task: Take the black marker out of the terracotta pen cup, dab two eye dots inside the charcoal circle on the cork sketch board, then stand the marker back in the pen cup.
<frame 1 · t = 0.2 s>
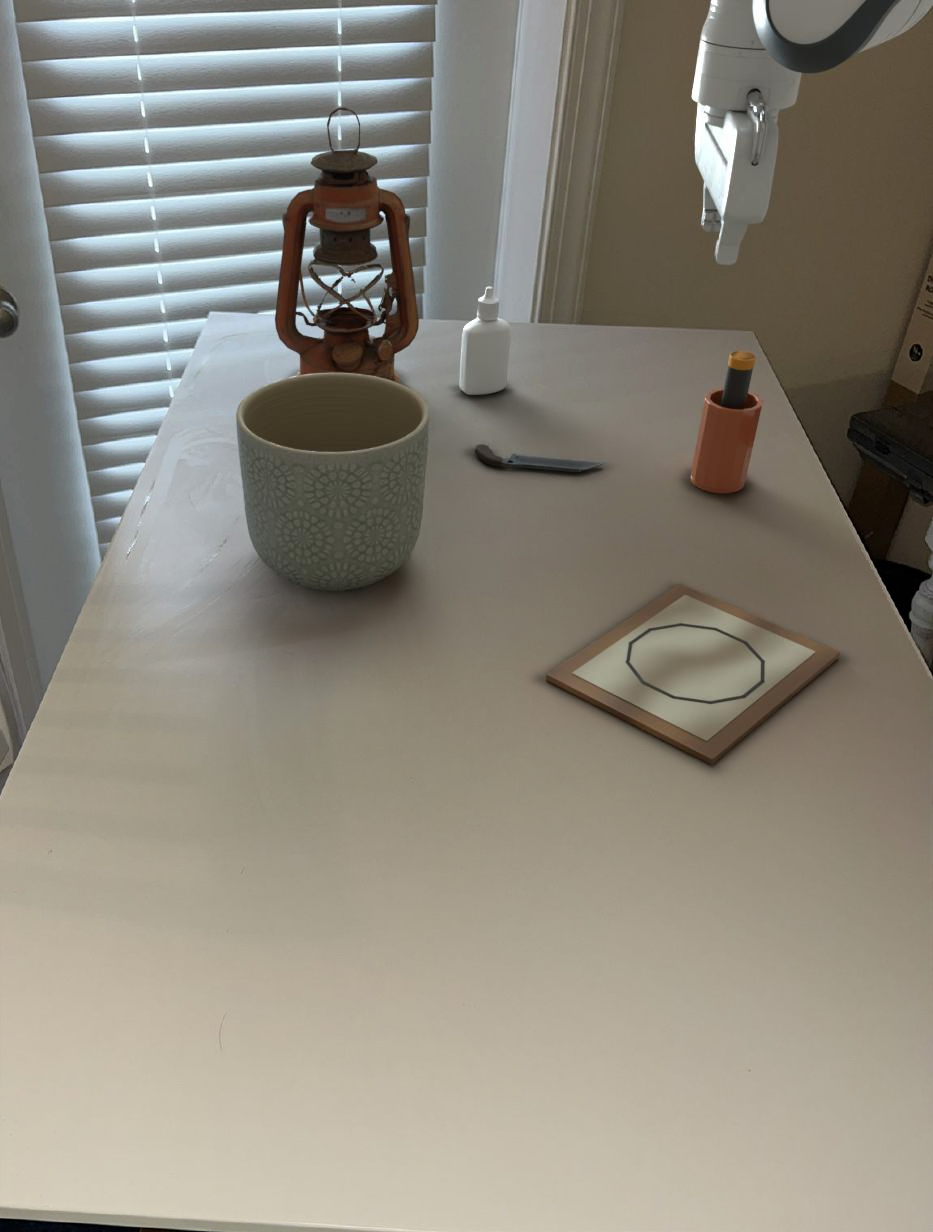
hand: (717, 245, 116), 24 cm above the table, tool pointing down, fingers open, 8 cm apart
marker: (730, 418, 127), in the pen cup
lantern: (347, 384, 151), on the table
knife: (538, 464, 134), on the table
planter: (334, 565, 119), on the table
eye dropper bottle: (482, 390, 149), on the table
pen cup: (717, 481, 131), on the table
sketch board: (693, 668, 105), on the table
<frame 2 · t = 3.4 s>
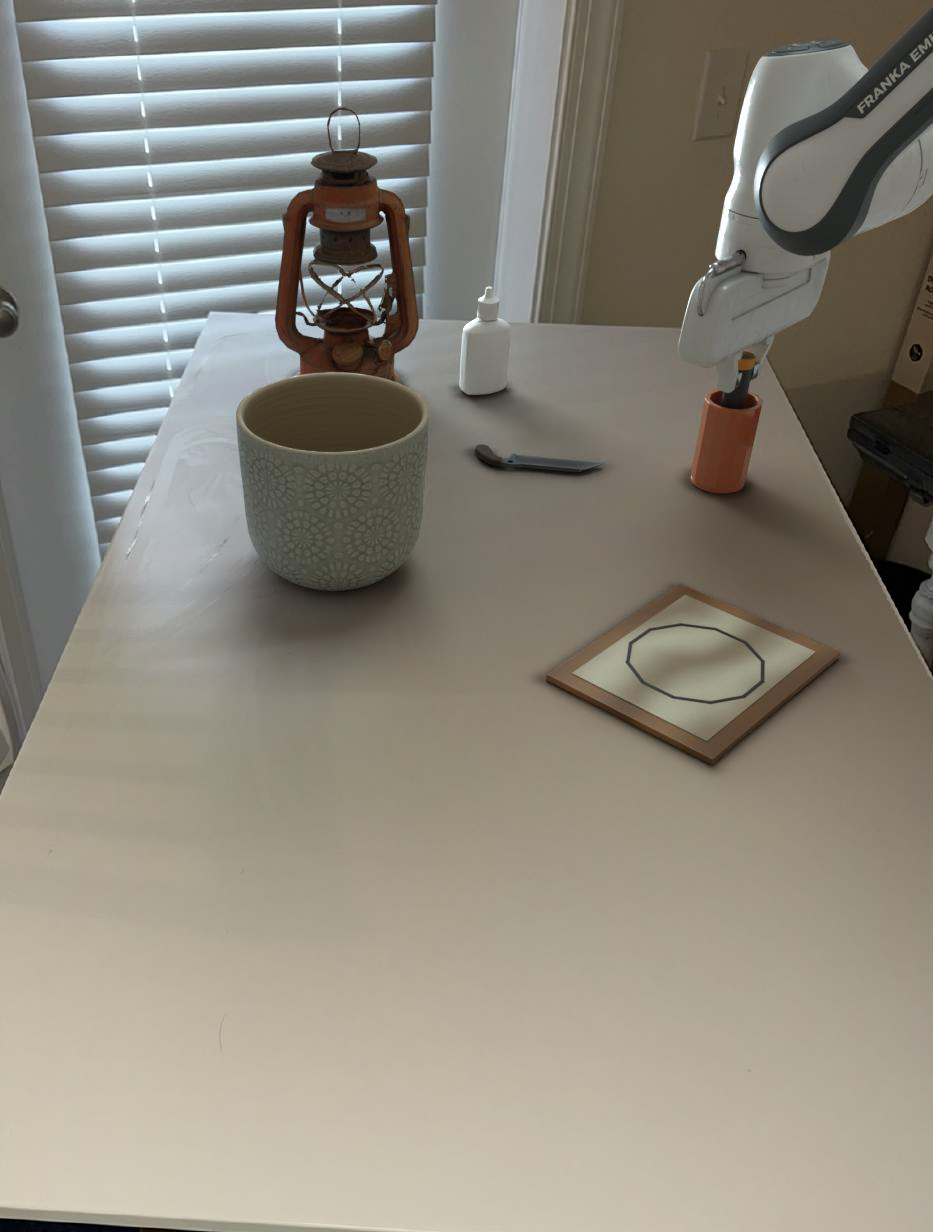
hand: (737, 384, 124), 11 cm above the table, tool pointing down, fingers closed on marker, 2 cm apart
marker: (730, 418, 127), in the pen cup, touching gripper
everything else where it was.
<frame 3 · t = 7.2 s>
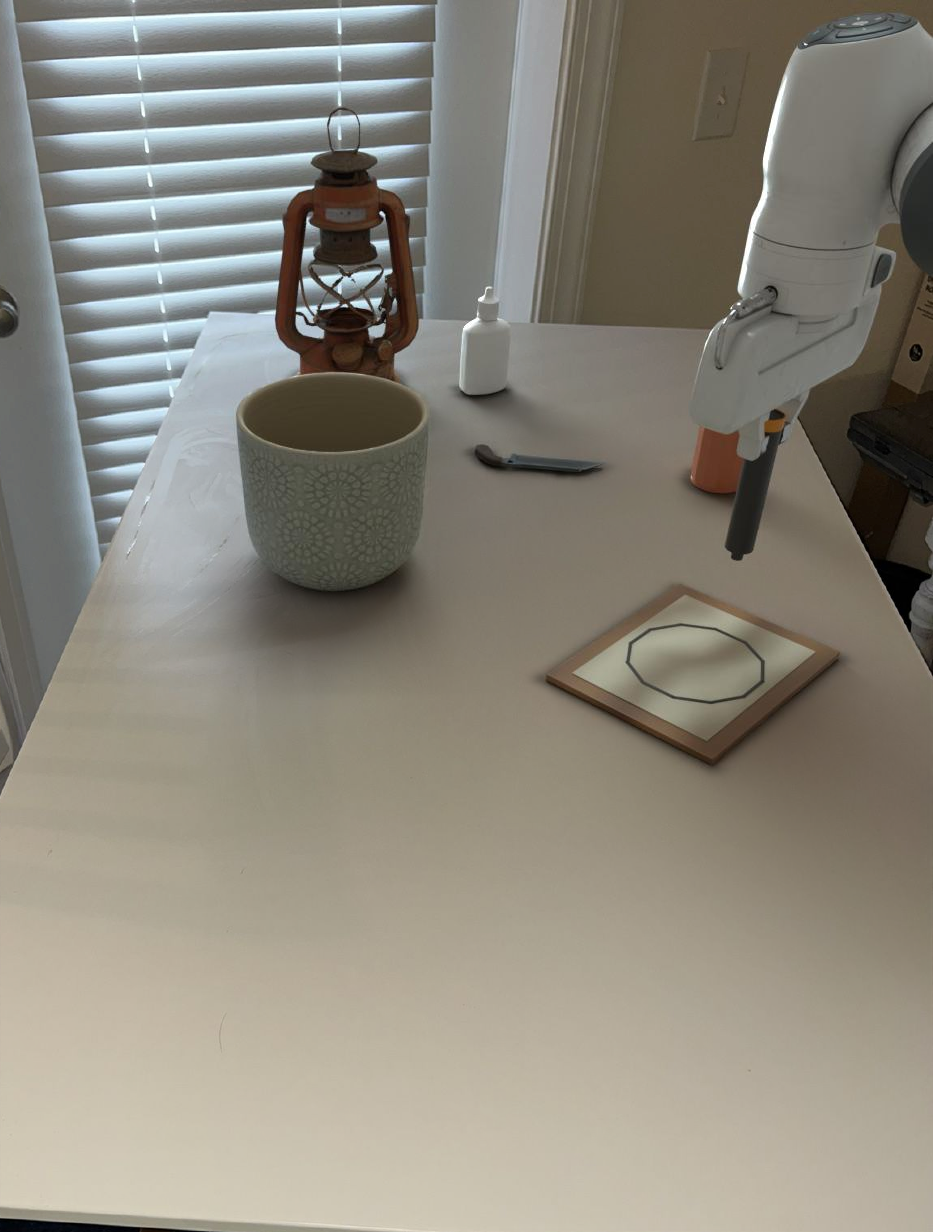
hand: (762, 448, 100), 17 cm above the table, tool pointing down, fingers closed on marker, 2 cm apart
marker: (752, 489, 102), point 13 cm above the table, touching gripper
everything else where it was.
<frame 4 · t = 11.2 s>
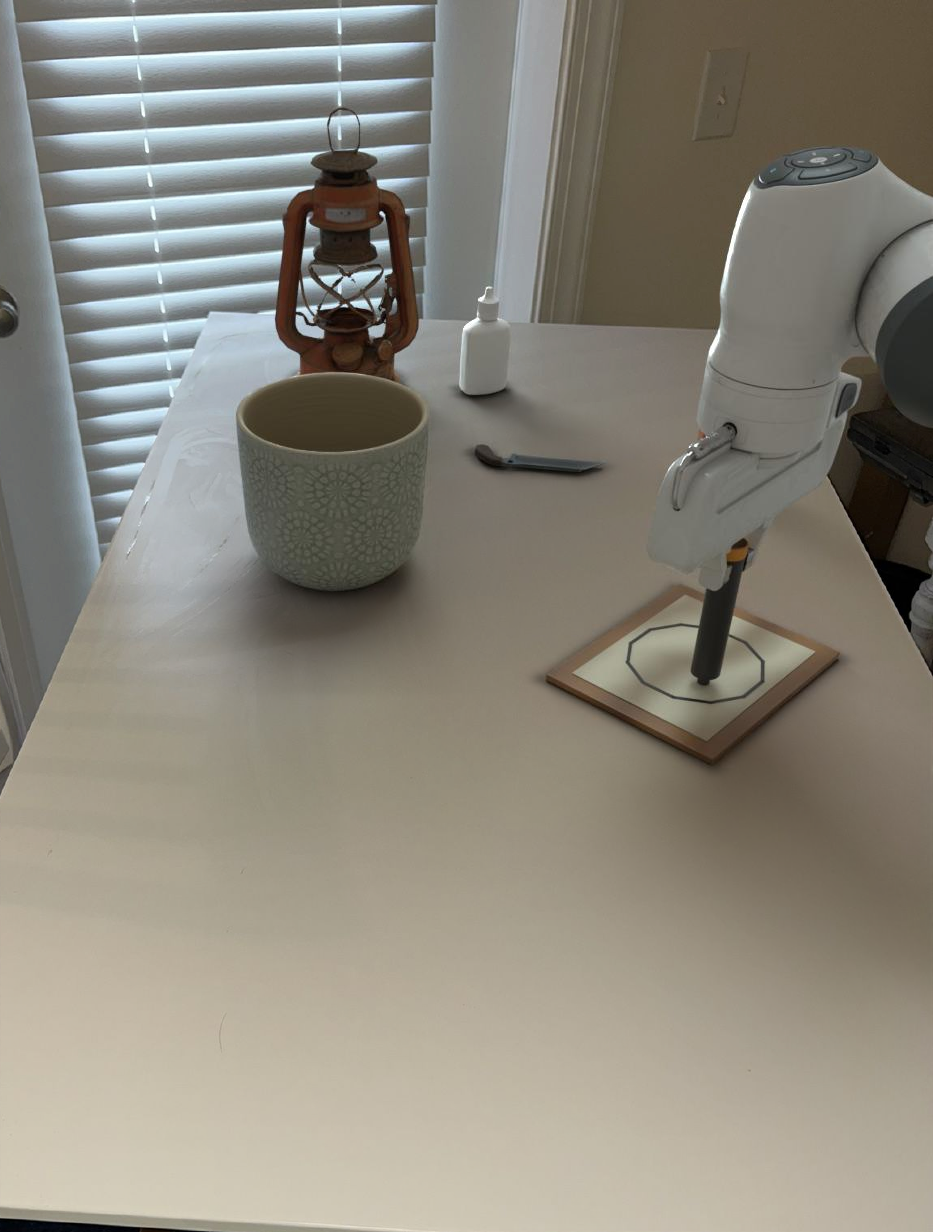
hand: (726, 575, 96), 11 cm above the table, tool pointing down, fingers closed on marker, 2 cm apart
marker: (716, 615, 98), point 7 cm above the table, touching gripper
everything else where it was.
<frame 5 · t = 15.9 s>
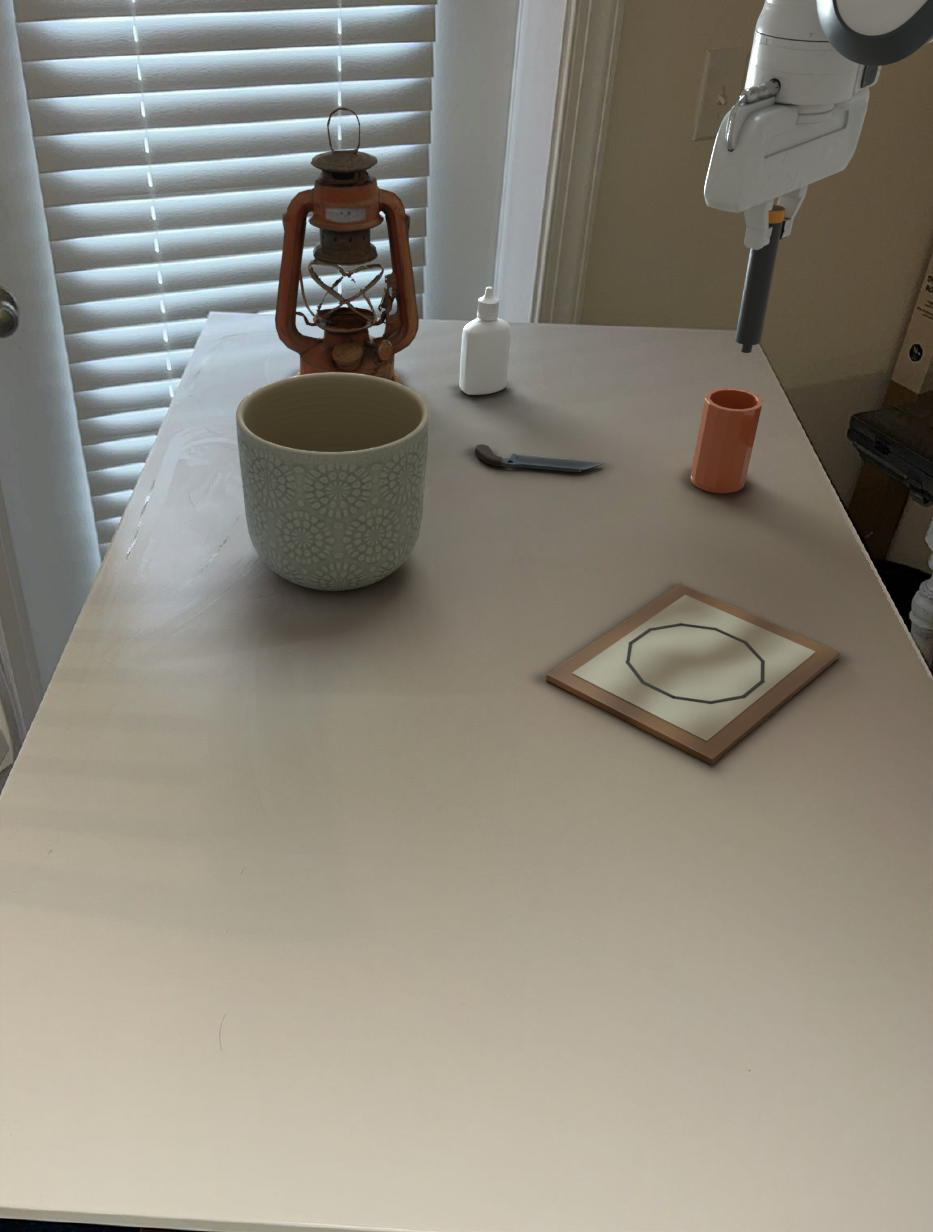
hand: (766, 242, 114), 25 cm above the table, tool pointing down, fingers closed on marker, 2 cm apart
marker: (758, 282, 116), point 21 cm above the table, touching gripper
everything else where it was.
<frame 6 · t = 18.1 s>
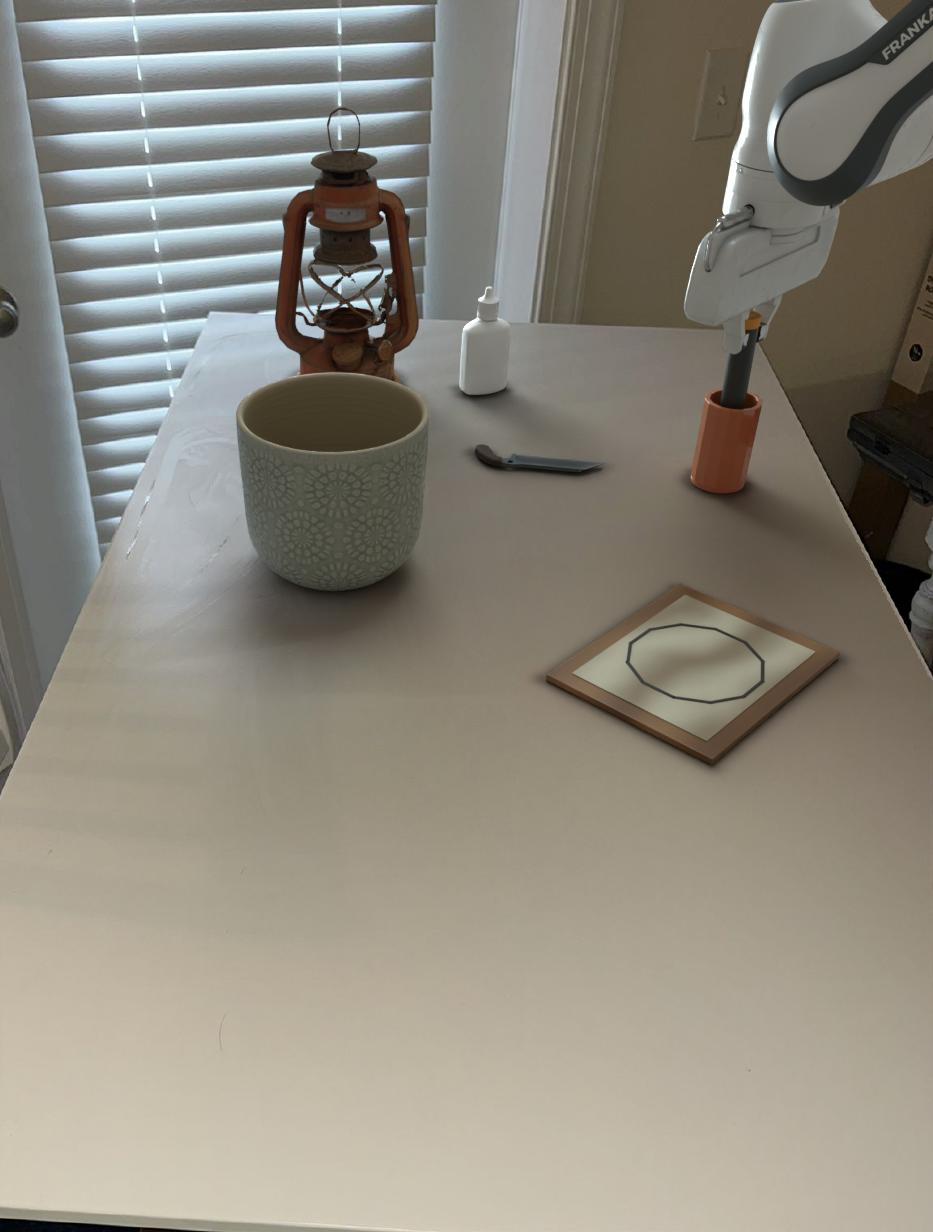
hand: (744, 345, 122), 15 cm above the table, tool pointing down, fingers closed on marker, 2 cm apart
marker: (736, 381, 124), point 11 cm above the table, touching gripper
everything else where it was.
when the fingers open (10 cm above the table, at t = 19.3 s): marker stays where it is, resting on pen cup.
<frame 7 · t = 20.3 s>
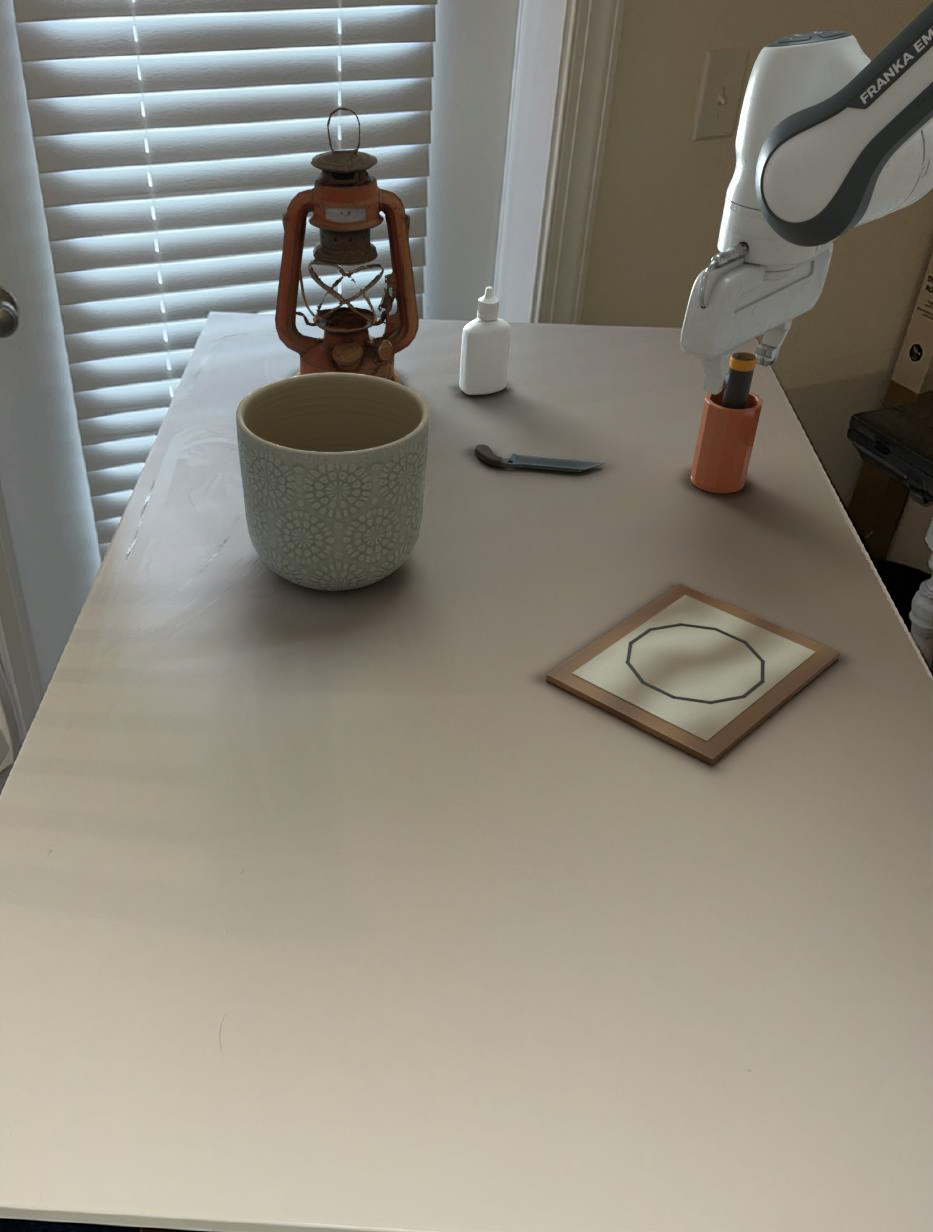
hand: (740, 377, 124), 11 cm above the table, tool pointing down, fingers open, 8 cm apart
marker: (731, 419, 126), in the pen cup
everything else where it was.
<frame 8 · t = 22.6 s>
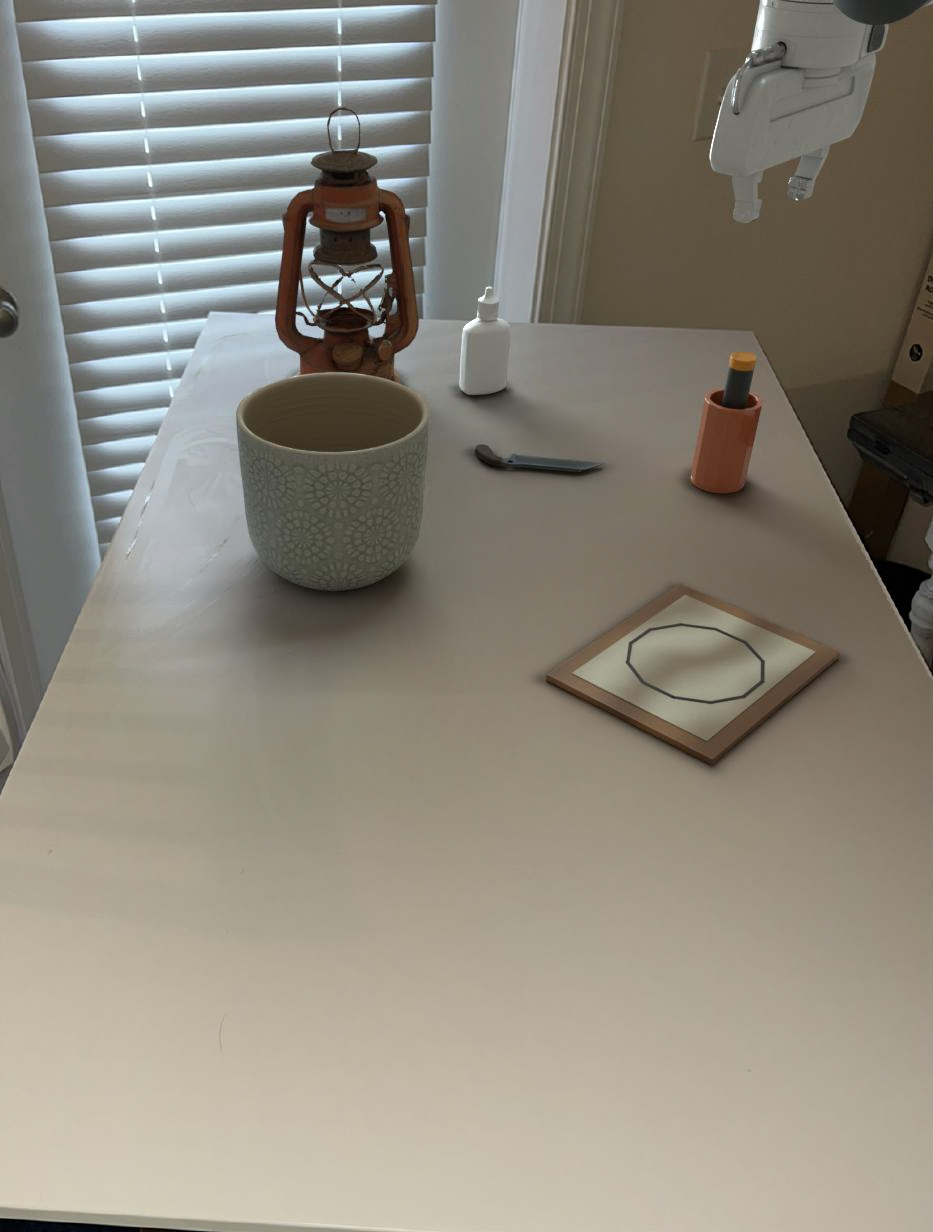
hand: (772, 209, 114), 27 cm above the table, tool pointing down, fingers open, 8 cm apart
nothing on the table moved.
at the end: marker 0.2 cm off-centre in the pen cup, point 7.0 cm above the pen cup's base; marker tilted 0°; marker touching pen cup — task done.
